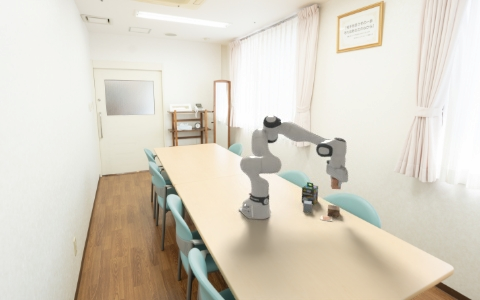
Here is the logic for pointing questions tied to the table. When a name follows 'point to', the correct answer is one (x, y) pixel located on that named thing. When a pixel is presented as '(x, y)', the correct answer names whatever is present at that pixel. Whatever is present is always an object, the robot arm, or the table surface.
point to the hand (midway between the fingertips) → (335, 184)
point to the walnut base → (333, 211)
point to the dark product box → (310, 193)
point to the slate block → (307, 206)
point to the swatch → (326, 218)
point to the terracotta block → (334, 183)
